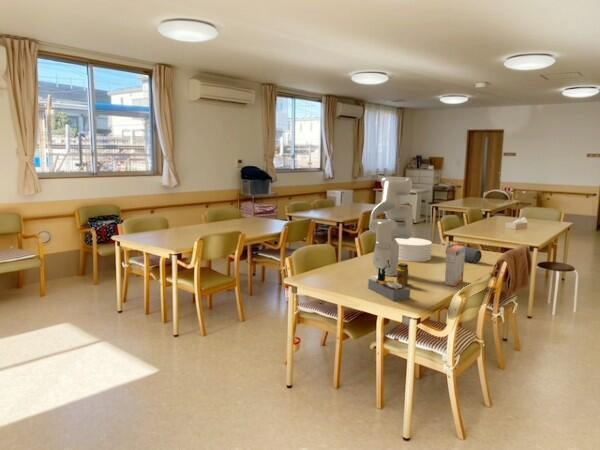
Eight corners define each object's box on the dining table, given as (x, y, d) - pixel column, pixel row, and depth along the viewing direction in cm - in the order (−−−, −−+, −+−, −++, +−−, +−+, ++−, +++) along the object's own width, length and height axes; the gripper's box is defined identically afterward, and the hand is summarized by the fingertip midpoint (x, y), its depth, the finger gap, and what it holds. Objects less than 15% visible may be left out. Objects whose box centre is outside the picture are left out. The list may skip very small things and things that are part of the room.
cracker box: (453, 279, 266) (455, 244, 263) (463, 281, 263) (466, 246, 259) (443, 284, 256) (446, 248, 252) (454, 286, 252) (457, 249, 249)
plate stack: (435, 256, 328) (436, 240, 327) (423, 263, 305) (424, 246, 303) (398, 251, 343) (399, 236, 341) (384, 257, 320) (385, 241, 318)
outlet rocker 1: (381, 278, 245) (381, 273, 245) (386, 280, 241) (385, 275, 241) (371, 281, 243) (371, 276, 243) (376, 283, 239) (375, 279, 239)
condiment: (393, 285, 253) (394, 264, 251) (400, 282, 259) (401, 261, 257) (405, 287, 248) (406, 266, 246) (412, 284, 254) (413, 263, 253)
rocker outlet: (396, 287, 233) (397, 282, 233) (401, 289, 229) (402, 285, 229) (386, 286, 230) (387, 281, 230) (391, 288, 226) (392, 284, 226)
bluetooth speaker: (444, 258, 322) (445, 244, 320) (452, 256, 327) (453, 243, 326) (473, 264, 304) (474, 250, 302) (481, 263, 309) (482, 248, 308)
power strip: (383, 286, 250) (384, 277, 249) (409, 298, 229) (410, 289, 228) (368, 288, 246) (368, 278, 245) (393, 301, 225) (393, 291, 224)
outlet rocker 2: (388, 282, 239) (389, 278, 239) (393, 284, 235) (393, 280, 235) (378, 283, 237) (378, 279, 236) (383, 286, 233) (383, 281, 232)
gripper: (368, 243, 237) (367, 277, 239) (385, 248, 223) (383, 284, 226) (381, 242, 240) (379, 276, 242) (397, 247, 226) (395, 283, 229)
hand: (381, 280), depth 234 cm, fingers closed
